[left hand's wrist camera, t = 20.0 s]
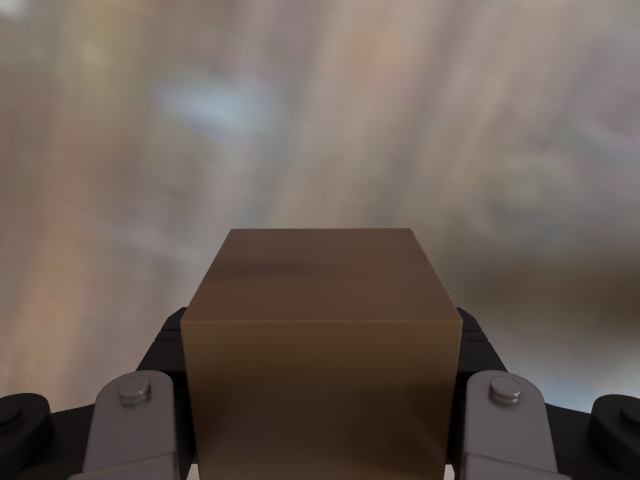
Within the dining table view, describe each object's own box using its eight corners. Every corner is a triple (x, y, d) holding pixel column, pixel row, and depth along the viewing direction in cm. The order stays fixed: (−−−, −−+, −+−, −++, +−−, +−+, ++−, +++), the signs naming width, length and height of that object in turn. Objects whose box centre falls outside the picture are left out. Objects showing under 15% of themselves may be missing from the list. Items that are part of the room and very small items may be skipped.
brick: (400, 386, 13) (437, 536, 9) (242, 386, 13) (206, 536, 9) (411, 227, 12) (464, 320, 7) (230, 228, 12) (178, 320, 7)
